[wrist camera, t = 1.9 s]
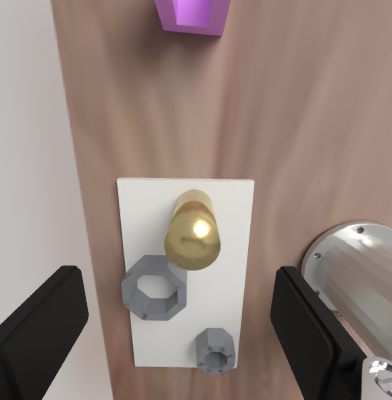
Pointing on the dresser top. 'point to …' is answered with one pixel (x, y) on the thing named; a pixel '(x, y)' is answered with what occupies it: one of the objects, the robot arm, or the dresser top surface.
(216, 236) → the brass pipe fitting
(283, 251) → the dresser top surface
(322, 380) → the robot arm
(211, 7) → the bracket
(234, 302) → the fitting board
